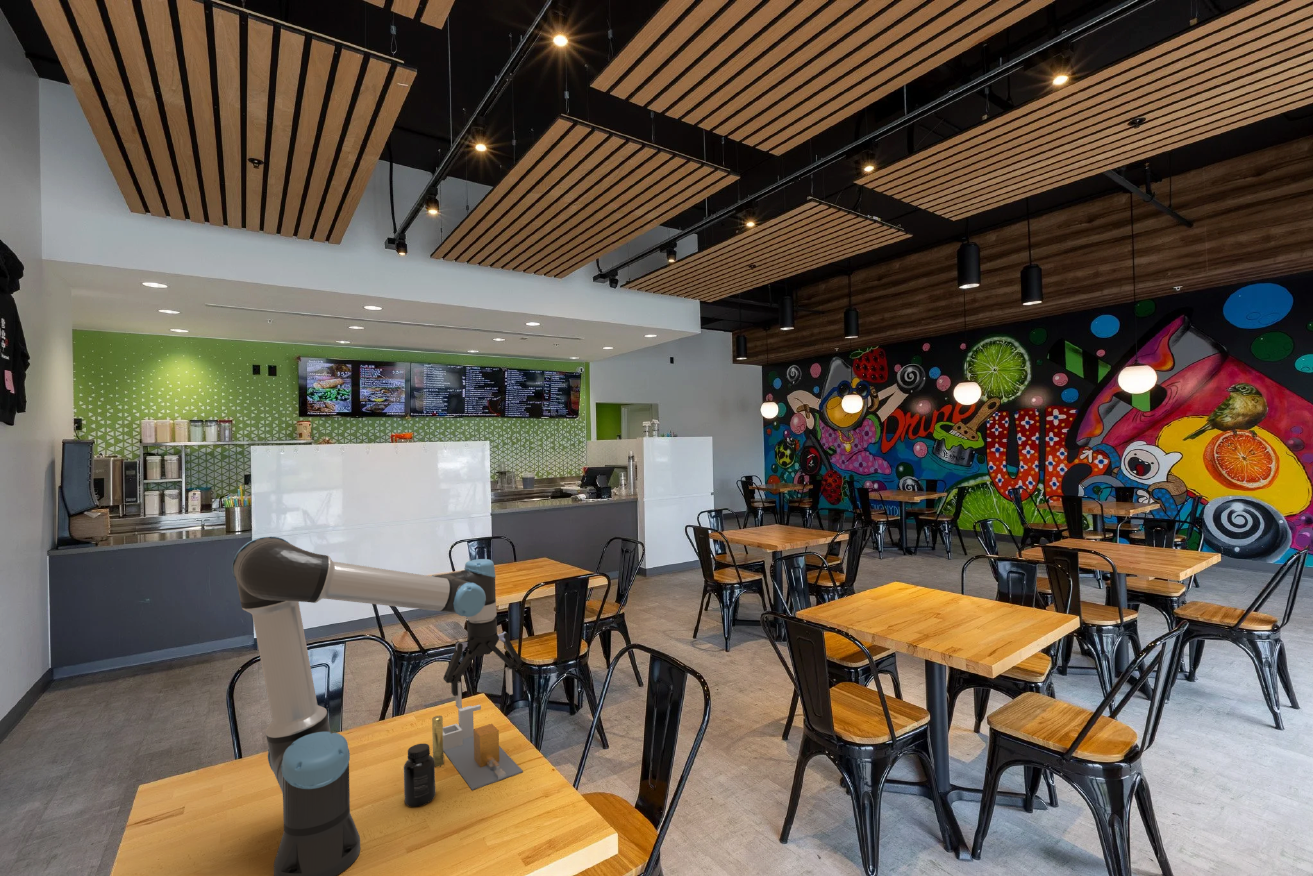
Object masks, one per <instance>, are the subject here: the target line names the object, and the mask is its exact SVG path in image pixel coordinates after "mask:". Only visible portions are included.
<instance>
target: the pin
mask: <svg viewBox="0 0 1313 876" xmlns="http://www.w3.org/2000/svg"><path fill="white" fill-rule="evenodd" d="M443 718H444V716H442V715H435V716H433V717H432V718H431V726H432V727H431V728H432V732H431V733H432V757H433V758H434V763H435V767H436V768H437V767H441V766H443V765H444V763H445V762H444V761H445V759H444V757H445V756H444V754H445V753H444V751H443V727H444V723H443V722H444V721H443Z"/></svg>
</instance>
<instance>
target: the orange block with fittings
mask: <svg viewBox="0 0 1313 876" xmlns="http://www.w3.org/2000/svg"><path fill="white" fill-rule="evenodd" d="M499 736H500V731H499V728H497V727H496V726H495V725H494V724H493V723H489V724H486V725H483V726H479V727H476V728H474V760H475V761H476V762H477V764H478V765H479V766H480V767H483V766H486V765H487V767H488V768H489V769H490V770H493V771H494V775H495V776H496V778H497V779H498V780H499V779H502V778H505V777H506V773H505V772H504V771H503V769H502V768H501V769H500V765H499V764H498V763H497V762H498V761H499V746H500V737H499ZM505 779H506V778H505Z"/></svg>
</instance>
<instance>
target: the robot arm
mask: <svg viewBox="0 0 1313 876" xmlns="http://www.w3.org/2000/svg"><path fill="white" fill-rule="evenodd" d="M231 573H232V576H233V578H234V579H235V581H236V585H237V591H238V594H239V600H240V606H241V609H242V610H243V611H244V612H245V611H246V612H247V613H250V614H251V615H252V622H253V625H254V631H255V637H256V641H257V648H258V651H259V653H258V654H259V657H260V663H261V669H262V674H263V678H264V684H265V690H266V694H267V699H268V705H269V711H270V714H271V720H272V721H271V722H270V724H269V725H268V726H267V727H266V729H265V736H266V741H267V747H268V749H267V760H268V764H269V767H270V769H271V770H272V772H273V774H274V777H275V779H276V781H277V783H278V785H279V788H280V790H281V792H282V793H281V794H282V809H283V810H282V813H283V832H282V836H281V840H280V843H279V846H278V849H277V852H276V854H275V855H276V856H275V859H274V862H273V876H338V875H340V874H341V873H343V872H344V871H345V870H347V869H348V868H349V867H350V866H352V865H353V863H354V862H355V861H356V860H357V859H358V857H359V854H360V852H361V836H360V834H359V831H358V829H357V826H356V824H355V821H354V818H353V816H352V814H351V801H350V798H351V796H350V794H351V791H350V759H351V757H350V756H351V753H350V748H349V744H348V740H347V739H346V738H345V736H343V735H342V734H340V733H337V732H331V728H330V727H331V726H330V721H329V715H328V711H327V708H325V707H323V706H321V705H318V701H317V696H316V694H317V693H316V690H315V683H314V679H313V674H312V673H313V672H312V668H311V662H310V656H309V651H308V645H307V641H306V635H305V631H304V630H305V629H304V624H303V623H304V622H303V619H302V613H301V607H300V602H301V603H314V604H315V603H318V602H320V601H321V600H324V599H325V600H331V601H332V600H335V601H341V602H352V603H360V604H370V605H380V606H389V607H396V608H397V607H399V608H405V609H416V610H425V611H436V612H442V613H451V614H455V615H458V616H460V617H465V618H466V620H467V624H466V629H467V640H466V641H462V642H460V641H456V642H455V644H454V651H453V654H452V656H451V659H450V661H449V663H448V666H447V668H446V671H445V673H444V676H443V681H444V682H445V683H446V684H450V685H451V686H450V687H451V688H450V689H451V690H450V691H451V694H452V696H453V697H455V706H456V708H457V709H462V708H463V704H462V703H463V702H462V701H463V700H462V698H463V697H462V682H461V681H460V679H461V678H462V677H463V675H464V673H465V672H466V671H467V669H468V667H469V666H470V664H471V663H472V662H473V661H474V660H475V659H476V657H482V656H484V655H491V654H492V652H493V653H494V654H495V655H496V657H498V658H499V659H500V660H501V661H503V662H504V663H505V665H507V667H505V669H504V670H505V687H506V688H505V689H506V693H507V694H509V695H511V696H512V695H513V694H514V693H513V681H515V679H516V669H517V666H520V665H522V663H523V661H522V659H521V657H520V655H519V654H518V652H517V651H516V649H515V647H514V645H513V644H512V641H511V640H510V639H511V638H510V633H508V632H506V631H502V632H501V633H499V634H498V623H497V621H498V620H497V598H496V596H497V595H496V594H497V593H496V570H495V564H494V561H493V560H491V559H486V558H480V559H479V558H478V559H473V560H468V561H467V562H465V563H464V569H463V570H461V571H460V570H459V571H455V572H449V573H442V574H436V575H435V574H432V575H426V574H419V573H410V572H405V571H399V570H393V569H386V568H379V567H372V566H367V565H359V564H353V563H345V562H338V561H333V560H332V558H331V557H330V556H329V555H328V554H327V555H325V554H320V553H314V552H311V551H309V550H304V549H303V548H300V547H298V546H295V545H293V544H291V543H290V542H289V541H288V540H287V539H284V538H281V537H277V536H263V537H257V538H255V539H252V540H250V541H248V542H246V543H245V544H244V545H243V546H241V547H240V548H239V550H238V551H237V552H236V554H235V556H234V558H233V561H232V563H231ZM499 641H501V642H502V643H503V644H504V647H505V648H506V650H507V651H508V653H509V655H510V657H511V658H512V660H511V659H510V658H509V657H508V656H507V655H506V654H505V653H503V651H501V650H500V648H498V647H497V644H498V642H499ZM466 648H468V651H466V653H465V656H464V658H463V659H462V660H461V658H462V655H463V652H464V651H465V650H466ZM460 660H461V662H460ZM459 662H460V664H459Z"/></svg>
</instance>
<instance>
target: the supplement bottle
mask: <svg viewBox="0 0 1313 876" xmlns="http://www.w3.org/2000/svg"><path fill="white" fill-rule="evenodd" d="M403 787H404V788H403V789H404V795H403V796H404V803H405V805H406V806H408V807H412V808H417V807H422V806H425V805H428V804H429V803H430V802H432V801H433V800H434V799H435V797H436V794H437V793H436V770H435V763H434V758H433V755H431V751H430V745H429V744H428V743H424V742H423V743H417V744H414V745H412V746H410V747H409V748H408V749H407V760H406V761H405V762H404V765H403Z"/></svg>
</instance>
